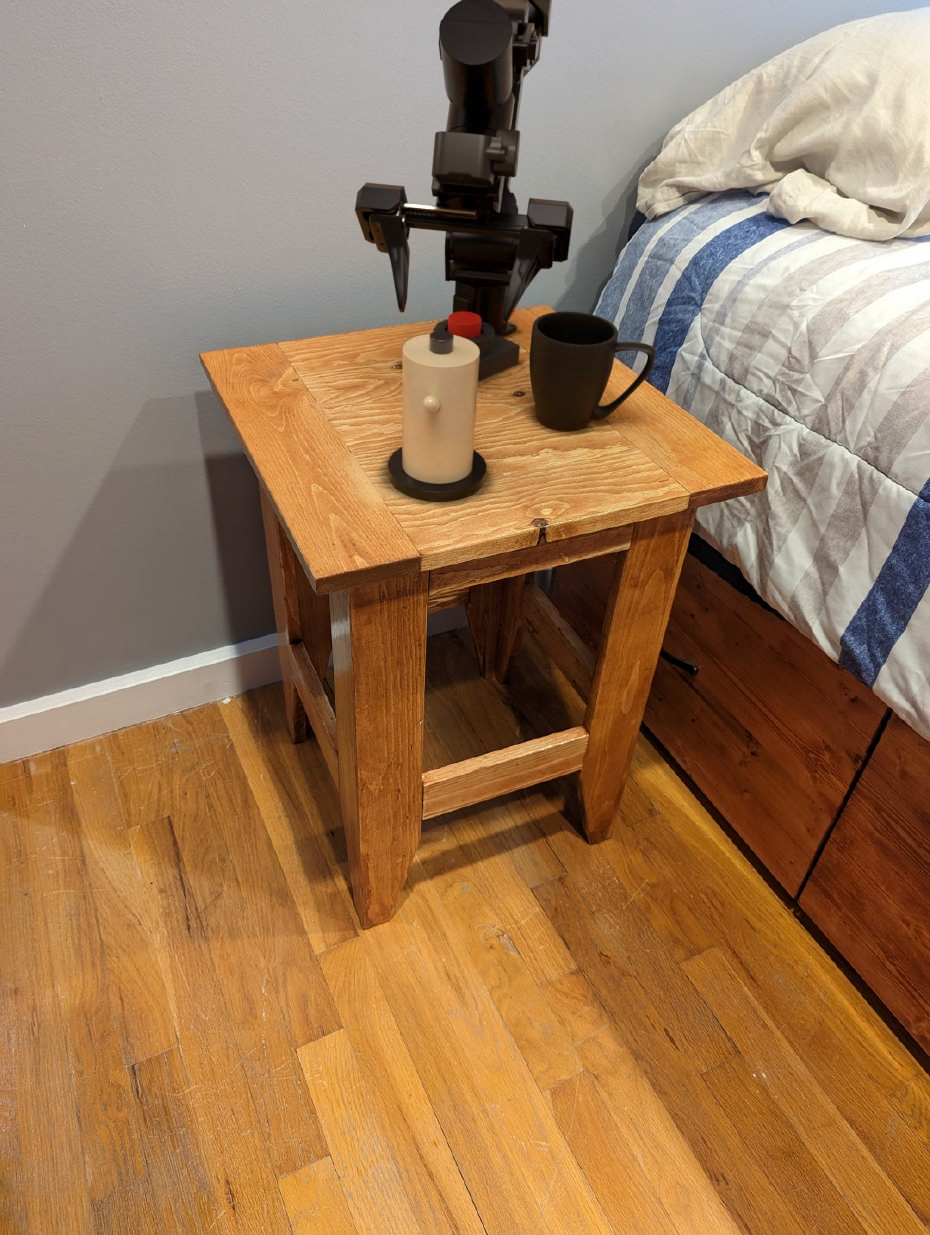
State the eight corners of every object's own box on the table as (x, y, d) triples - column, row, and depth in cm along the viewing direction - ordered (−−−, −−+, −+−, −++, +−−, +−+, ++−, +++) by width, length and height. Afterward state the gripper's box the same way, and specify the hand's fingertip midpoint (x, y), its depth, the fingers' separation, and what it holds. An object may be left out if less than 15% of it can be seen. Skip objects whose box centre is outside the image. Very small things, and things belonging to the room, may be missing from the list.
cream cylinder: (409, 443, 81) (410, 316, 73) (476, 451, 81) (485, 324, 73) (389, 495, 74) (388, 361, 66) (463, 504, 74) (471, 370, 66)
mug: (632, 452, 84) (651, 360, 78) (513, 428, 86) (523, 336, 80) (645, 414, 90) (664, 325, 84) (534, 393, 92) (544, 305, 86)
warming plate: (436, 439, 84) (436, 429, 83) (505, 475, 80) (506, 466, 79) (367, 472, 79) (367, 463, 78) (438, 513, 74) (438, 504, 74)
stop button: (463, 324, 96) (464, 308, 95) (487, 334, 94) (488, 318, 93) (440, 332, 94) (441, 317, 93) (464, 343, 92) (465, 327, 91)
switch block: (466, 340, 101) (468, 307, 99) (518, 363, 98) (521, 329, 95) (405, 365, 96) (405, 330, 93) (458, 390, 92) (459, 354, 89)
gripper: (356, 73, 69) (328, 260, 68) (588, 93, 68) (563, 284, 67) (378, 157, 80) (354, 319, 79) (578, 176, 79) (557, 341, 78)
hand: (452, 315), depth 76 cm, fingers open, 9 cm apart
